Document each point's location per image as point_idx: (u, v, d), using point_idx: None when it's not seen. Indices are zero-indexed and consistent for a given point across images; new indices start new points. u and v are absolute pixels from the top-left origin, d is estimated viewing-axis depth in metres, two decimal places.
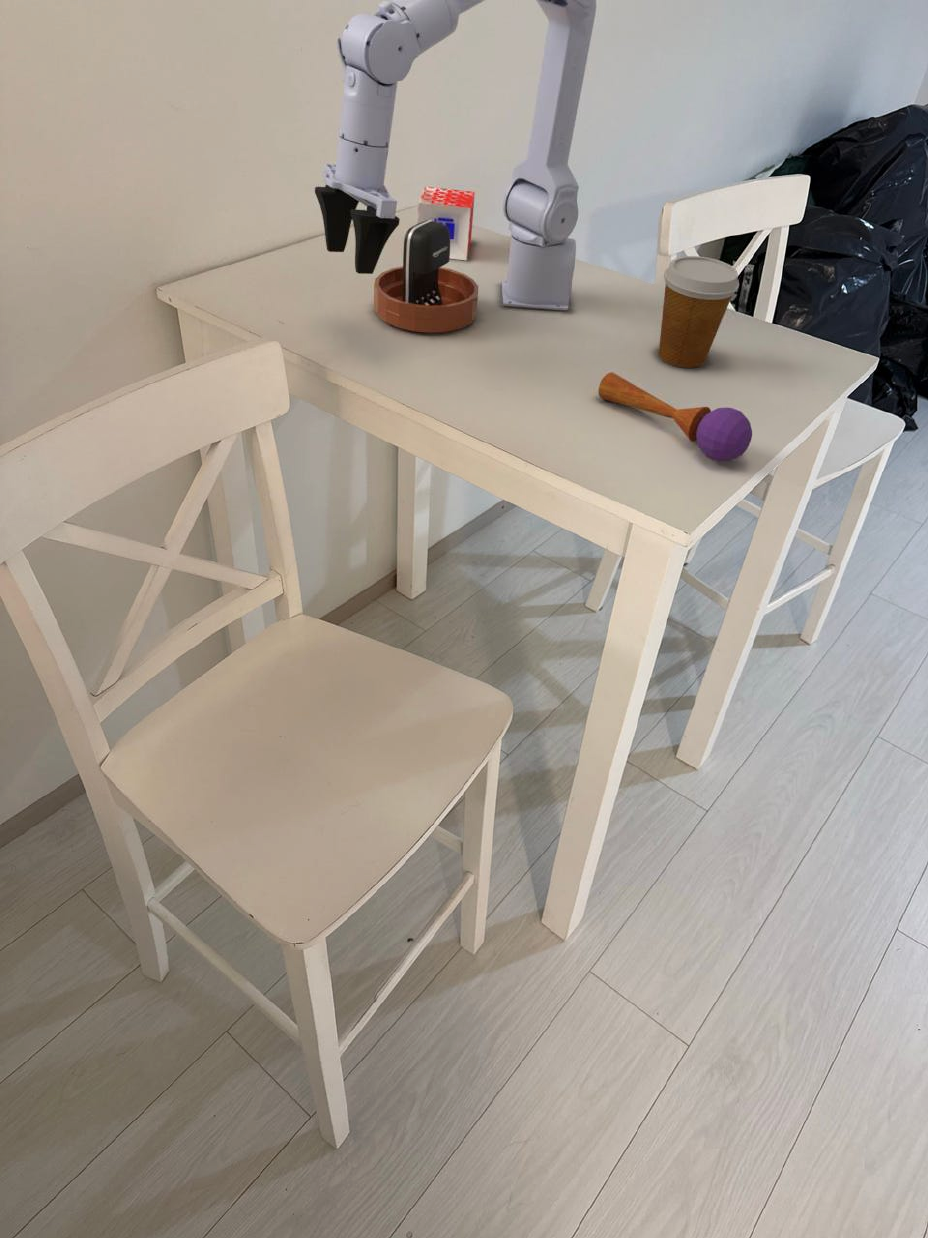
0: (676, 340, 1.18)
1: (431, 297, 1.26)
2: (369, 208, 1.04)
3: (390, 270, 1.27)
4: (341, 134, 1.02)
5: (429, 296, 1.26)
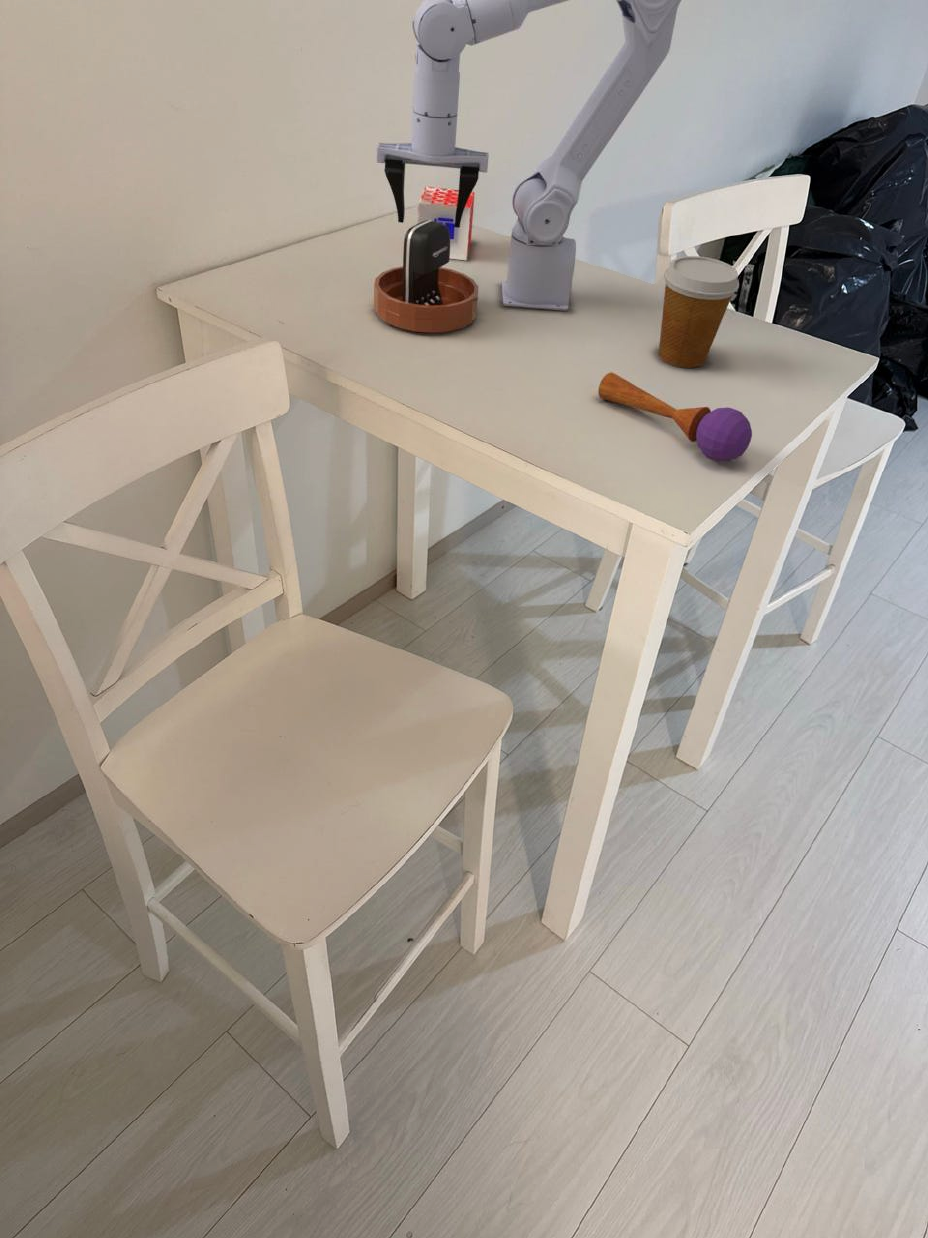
0: (676, 340, 1.18)
1: (431, 297, 1.26)
2: None
3: (390, 270, 1.27)
4: None
5: (429, 296, 1.26)
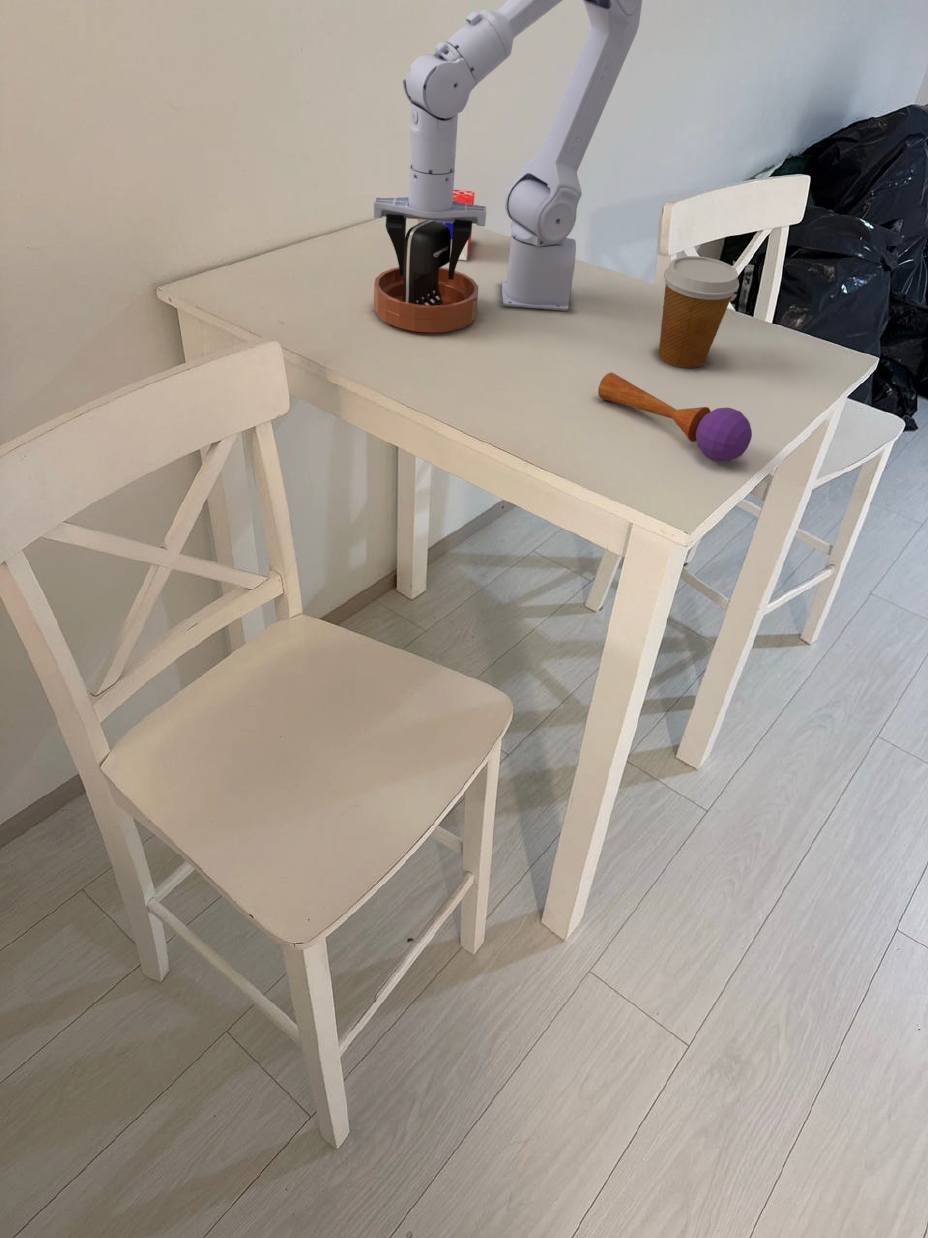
0: (676, 340, 1.18)
1: (431, 297, 1.26)
2: None
3: (390, 270, 1.27)
4: (410, 165, 1.13)
5: (429, 296, 1.26)
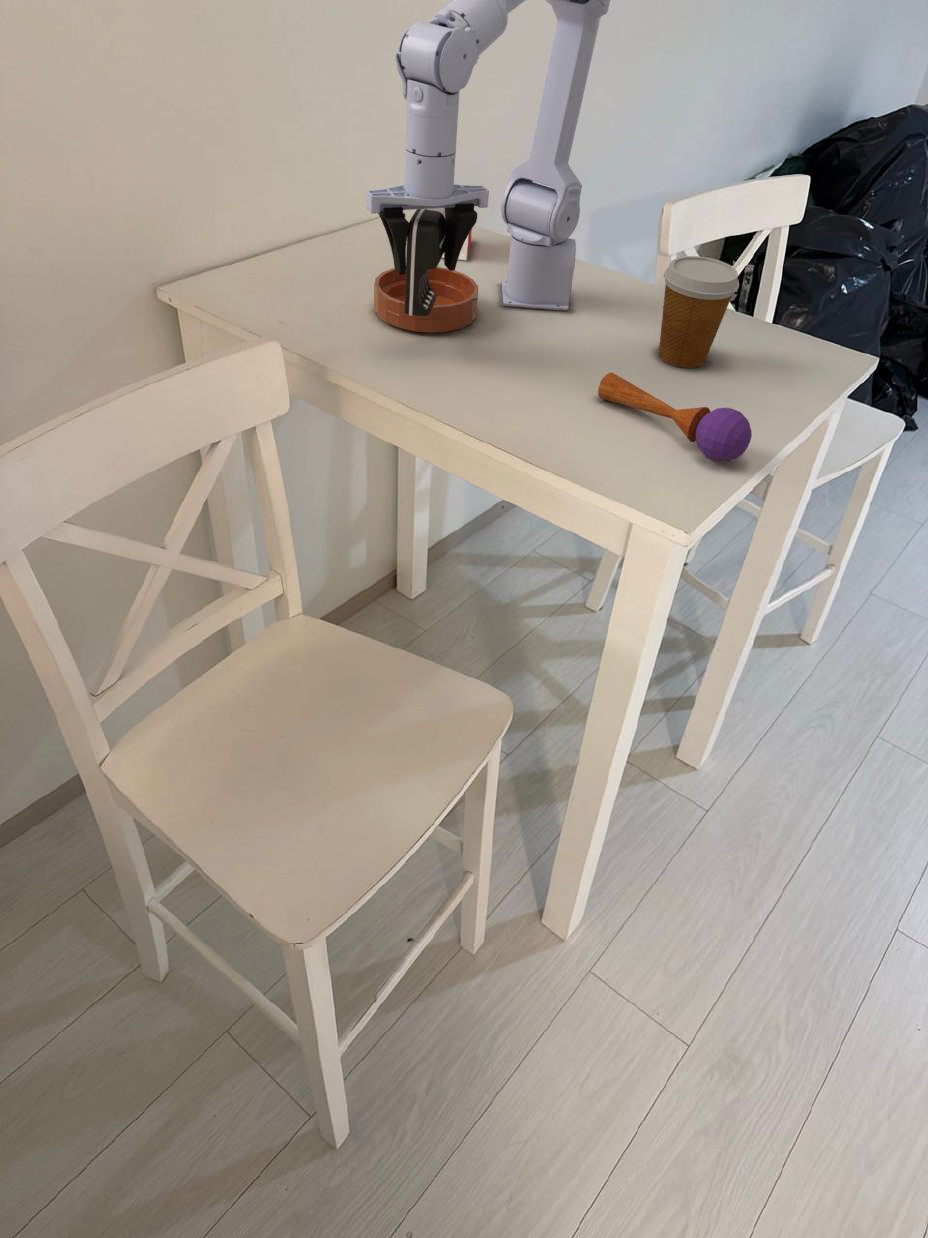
0: (676, 340, 1.18)
1: (427, 293, 1.15)
2: None
3: (390, 270, 1.27)
4: (411, 149, 1.01)
5: None
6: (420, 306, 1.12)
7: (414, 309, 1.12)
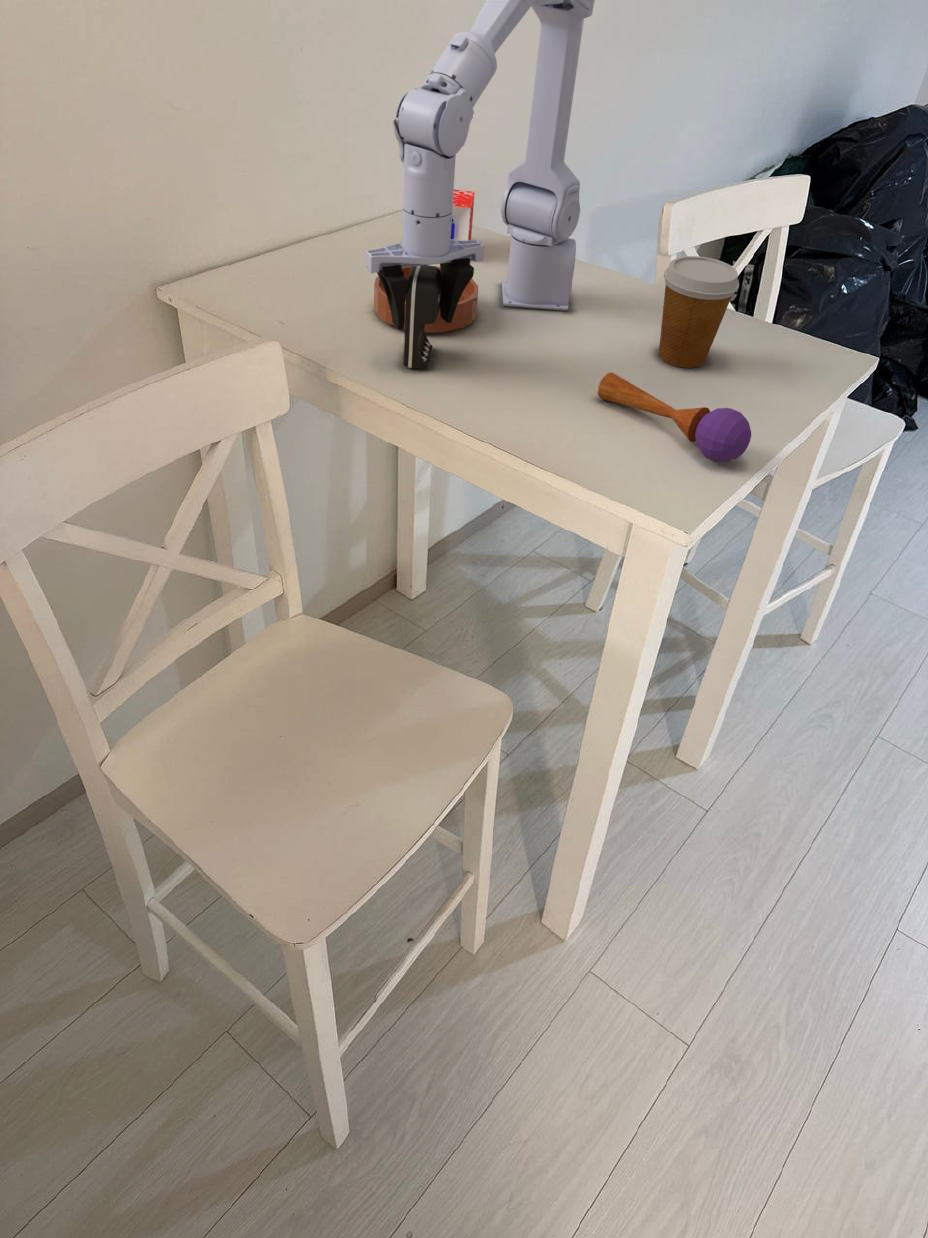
0: (676, 340, 1.18)
1: (424, 344, 1.16)
2: None
3: None
4: (409, 210, 1.02)
5: None
6: (419, 359, 1.13)
7: (413, 362, 1.13)
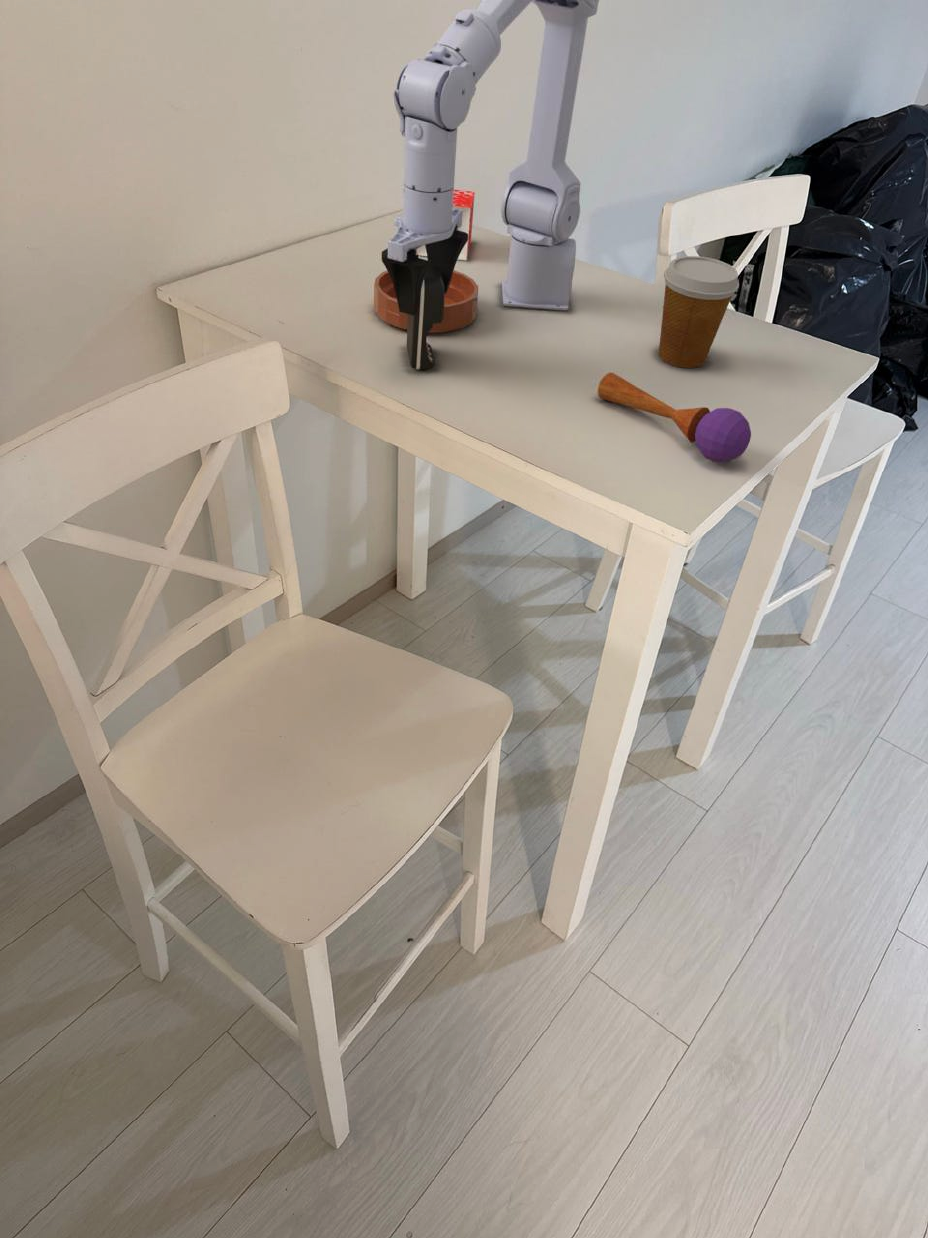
0: (676, 340, 1.18)
1: None
2: None
3: None
4: (410, 186, 1.01)
5: None
6: (427, 359, 1.13)
7: (421, 363, 1.13)
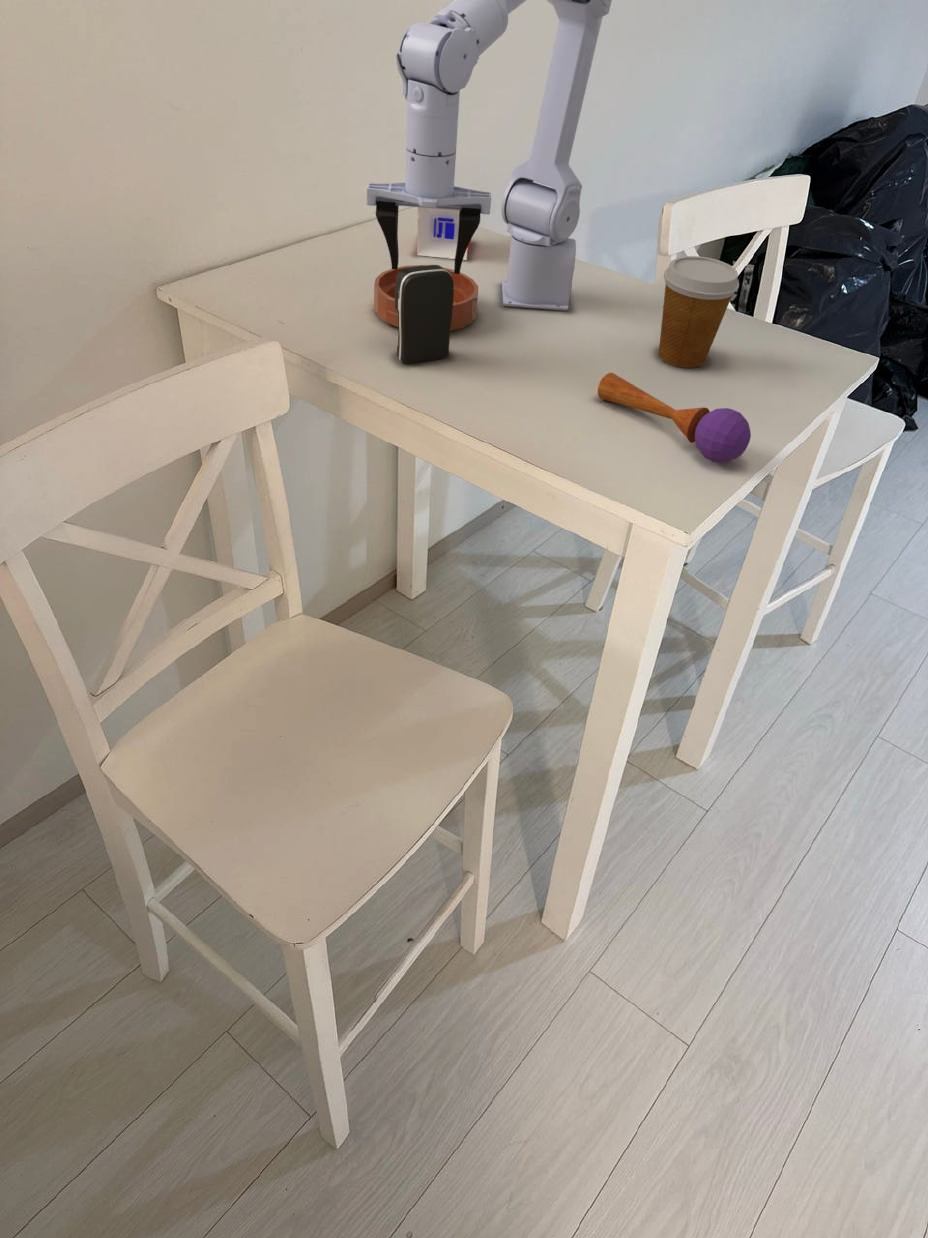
0: (676, 340, 1.18)
1: None
2: (466, 210, 1.07)
3: (390, 270, 1.27)
4: (411, 149, 1.01)
5: None
6: None
7: None
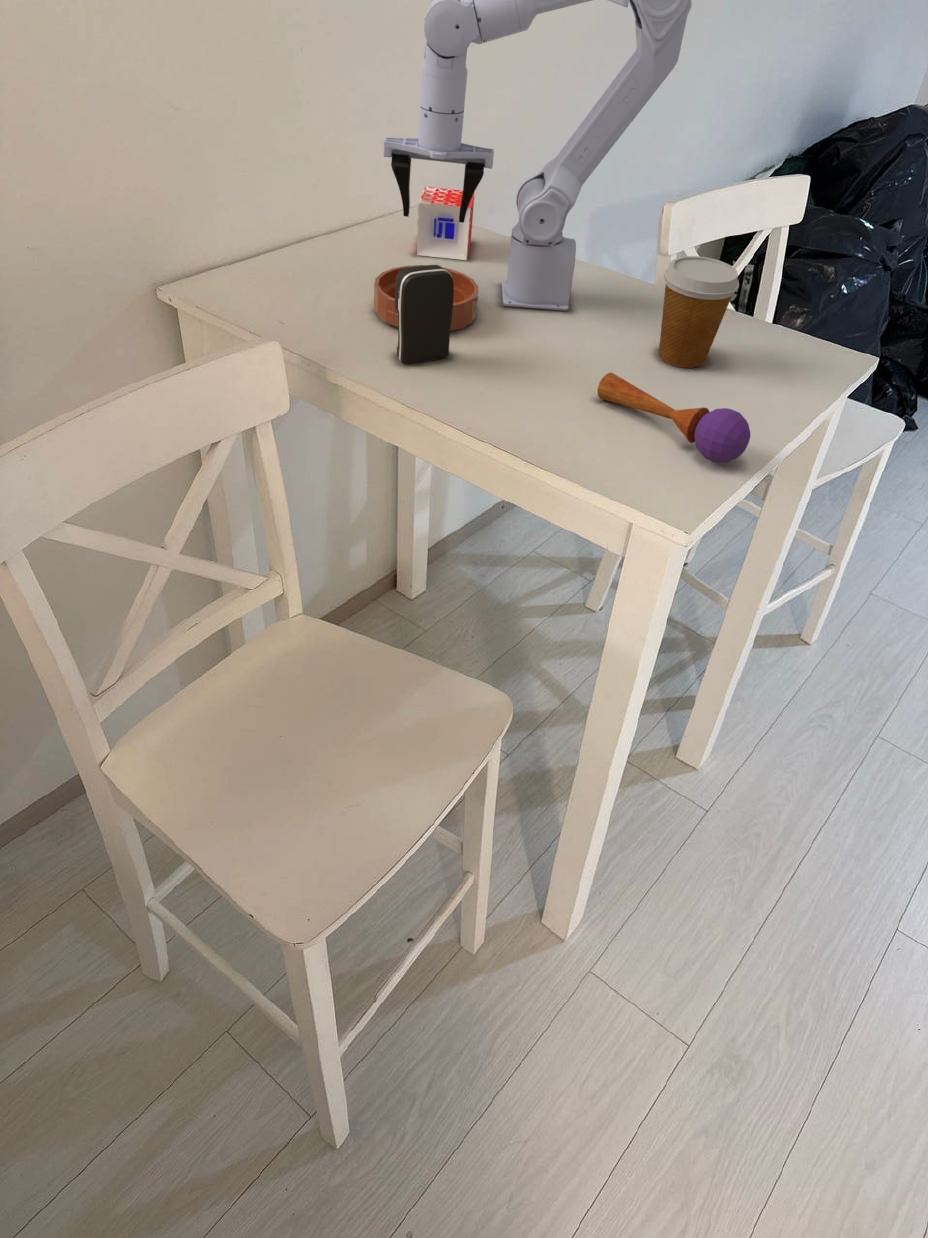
0: (676, 340, 1.18)
1: None
2: (472, 164, 1.21)
3: (390, 270, 1.27)
4: None
5: None
6: None
7: None
